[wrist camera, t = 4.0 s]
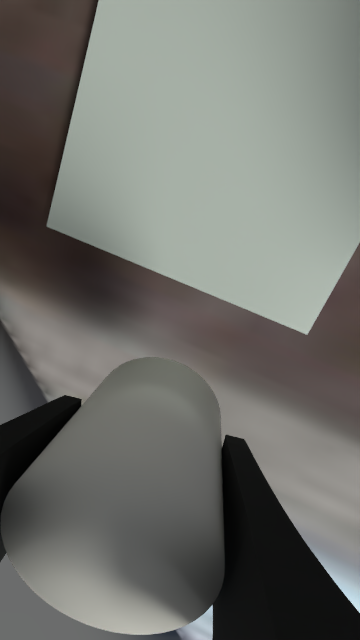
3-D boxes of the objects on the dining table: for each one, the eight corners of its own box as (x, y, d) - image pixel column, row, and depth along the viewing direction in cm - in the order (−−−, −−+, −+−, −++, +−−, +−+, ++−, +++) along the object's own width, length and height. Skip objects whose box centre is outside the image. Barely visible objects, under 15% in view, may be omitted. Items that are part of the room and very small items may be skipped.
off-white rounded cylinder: (244, 395, 10) (271, 531, 5) (186, 488, 11) (164, 664, 7) (122, 334, 10) (35, 414, 5) (79, 435, 11) (-21, 571, 7)
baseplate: (488, -2, 11) (507, -19, 11) (302, 330, 16) (307, 334, 15) (141, -134, 12) (135, -161, 11) (54, 227, 16) (46, 226, 16)
